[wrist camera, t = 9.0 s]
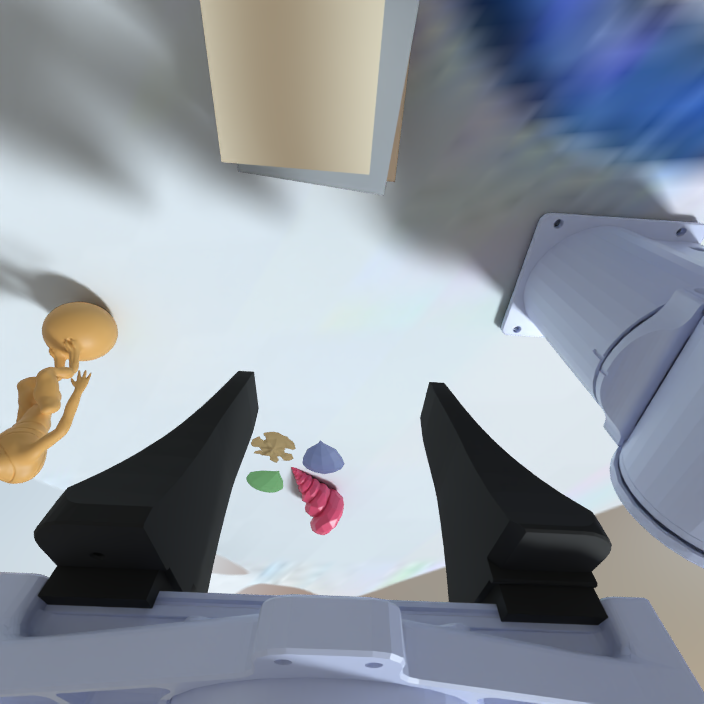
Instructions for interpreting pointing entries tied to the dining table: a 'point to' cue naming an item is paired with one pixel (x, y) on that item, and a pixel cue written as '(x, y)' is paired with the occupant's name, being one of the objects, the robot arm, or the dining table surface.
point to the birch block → (295, 81)
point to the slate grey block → (388, 100)
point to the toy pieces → (303, 479)
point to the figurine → (54, 387)
